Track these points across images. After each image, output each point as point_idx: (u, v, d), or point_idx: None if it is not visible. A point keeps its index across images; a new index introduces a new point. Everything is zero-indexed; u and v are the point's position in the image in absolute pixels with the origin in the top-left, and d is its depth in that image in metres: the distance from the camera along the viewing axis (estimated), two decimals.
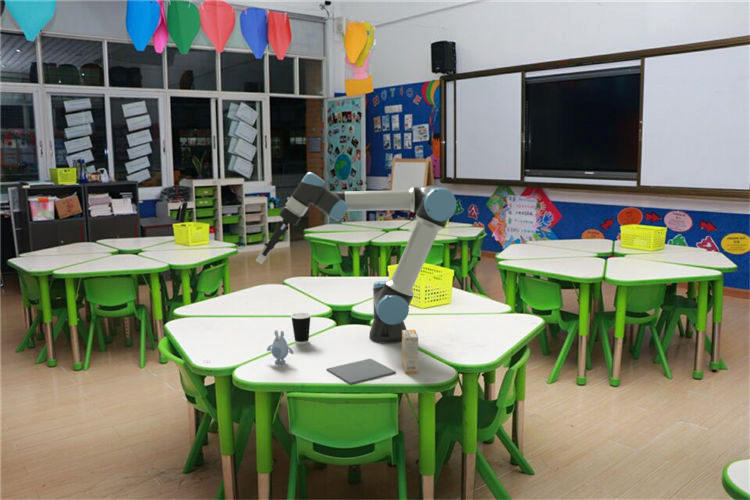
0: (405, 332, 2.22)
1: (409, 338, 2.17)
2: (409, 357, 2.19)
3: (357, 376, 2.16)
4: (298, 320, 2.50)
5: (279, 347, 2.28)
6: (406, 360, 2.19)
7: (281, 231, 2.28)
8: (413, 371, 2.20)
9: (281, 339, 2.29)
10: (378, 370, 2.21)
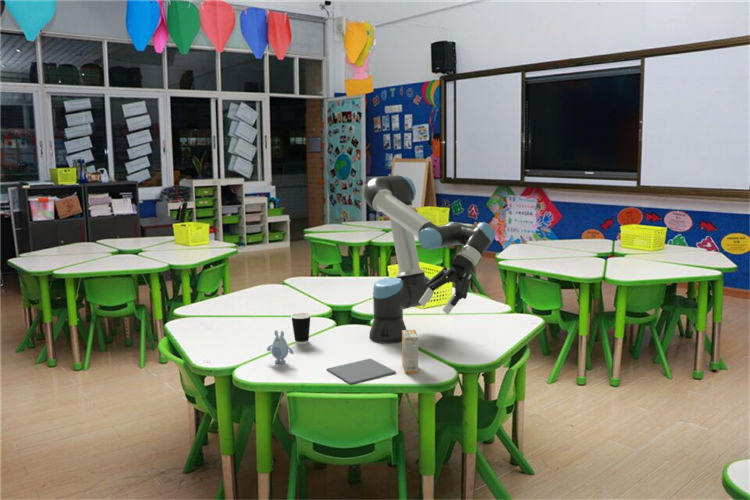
0: (405, 332, 2.22)
1: (409, 338, 2.17)
2: (409, 357, 2.19)
3: (357, 376, 2.16)
4: (298, 320, 2.50)
5: (279, 347, 2.28)
6: (406, 360, 2.19)
7: (468, 281, 2.23)
8: (413, 371, 2.20)
9: (281, 339, 2.29)
10: (378, 370, 2.21)
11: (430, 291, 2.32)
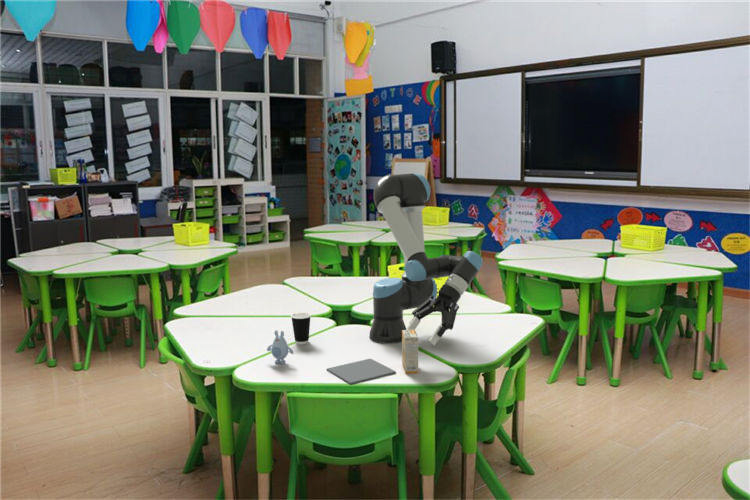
0: (405, 332, 2.22)
1: (409, 338, 2.17)
2: (409, 357, 2.19)
3: (357, 376, 2.16)
4: (298, 320, 2.50)
5: (279, 347, 2.28)
6: (406, 360, 2.19)
7: (455, 311, 2.21)
8: (413, 371, 2.20)
9: (281, 339, 2.29)
10: (378, 370, 2.21)
11: (417, 320, 2.30)
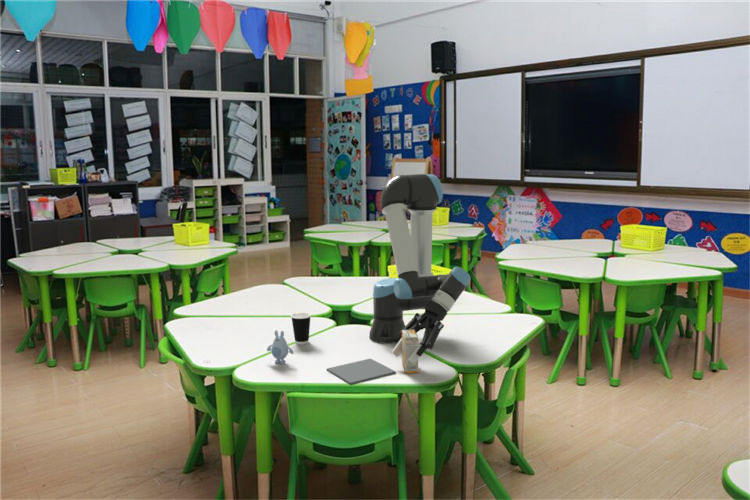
0: (405, 332, 2.22)
1: (409, 337, 2.17)
2: (409, 357, 2.19)
3: (357, 376, 2.16)
4: (298, 320, 2.50)
5: (279, 347, 2.28)
6: (406, 360, 2.19)
7: (438, 330, 2.19)
8: (413, 371, 2.20)
9: (281, 339, 2.29)
10: (378, 370, 2.21)
11: None
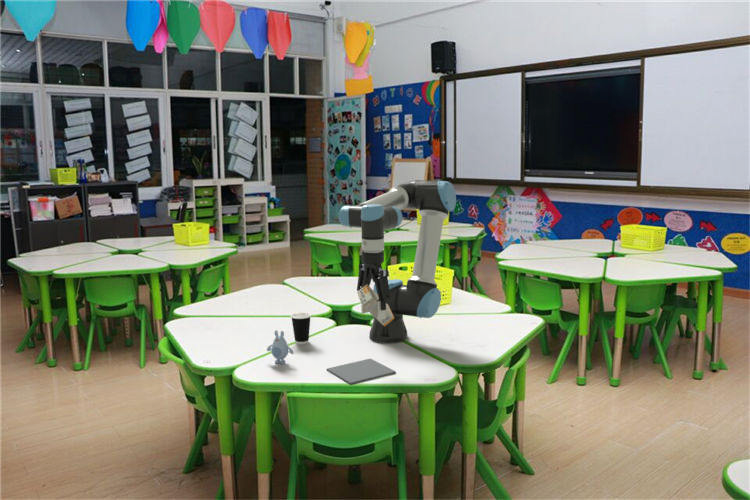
0: (360, 295, 2.18)
1: (365, 303, 2.14)
2: (377, 314, 2.18)
3: (357, 376, 2.16)
4: (298, 320, 2.50)
5: (279, 347, 2.28)
6: (377, 318, 2.19)
7: (385, 278, 2.13)
8: (389, 320, 2.21)
9: (281, 339, 2.29)
10: (378, 370, 2.21)
11: None
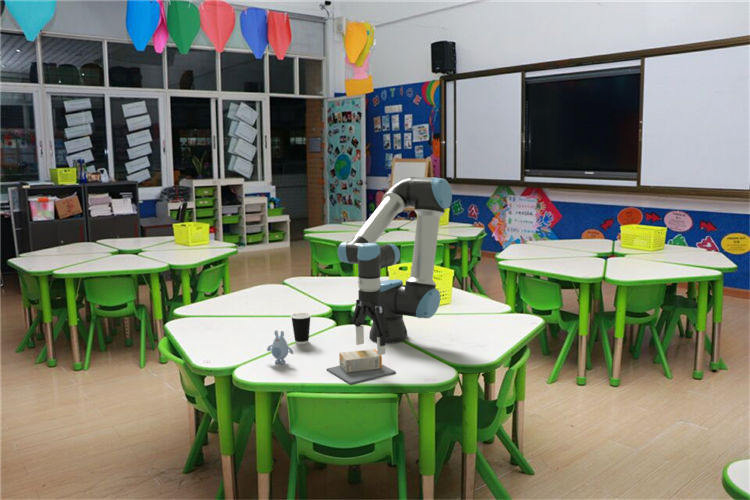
0: (341, 365, 2.23)
1: (346, 368, 2.19)
2: (365, 366, 2.21)
3: (357, 376, 2.16)
4: (298, 320, 2.50)
5: (279, 347, 2.28)
6: (368, 368, 2.21)
7: (382, 314, 2.15)
8: (379, 360, 2.22)
9: (281, 339, 2.29)
10: (378, 370, 2.21)
11: (359, 328, 2.27)
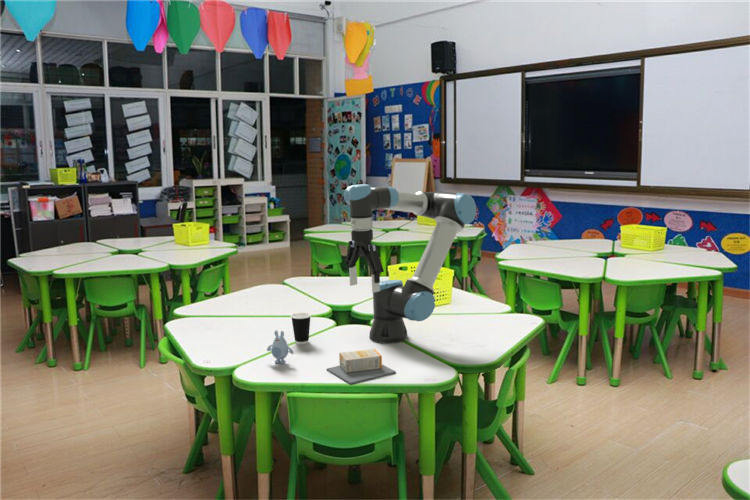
0: (341, 365, 2.23)
1: (346, 368, 2.19)
2: (365, 366, 2.21)
3: (357, 376, 2.16)
4: (298, 320, 2.50)
5: (279, 347, 2.28)
6: (368, 368, 2.21)
7: (376, 252, 2.22)
8: (379, 360, 2.22)
9: (281, 339, 2.29)
10: (378, 370, 2.21)
11: (353, 269, 2.34)
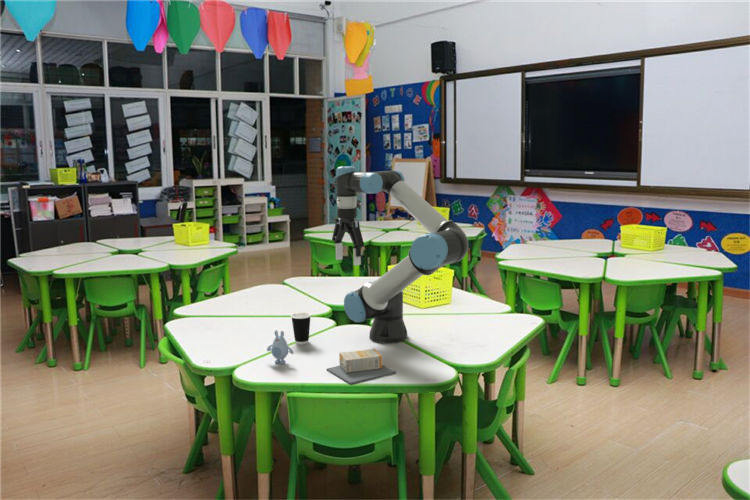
0: (341, 365, 2.23)
1: (346, 368, 2.19)
2: (365, 366, 2.21)
3: (357, 376, 2.16)
4: (298, 320, 2.50)
5: (279, 347, 2.28)
6: (368, 368, 2.21)
7: (358, 228, 2.42)
8: (379, 360, 2.22)
9: (281, 339, 2.29)
10: (378, 370, 2.21)
11: (339, 245, 2.54)
